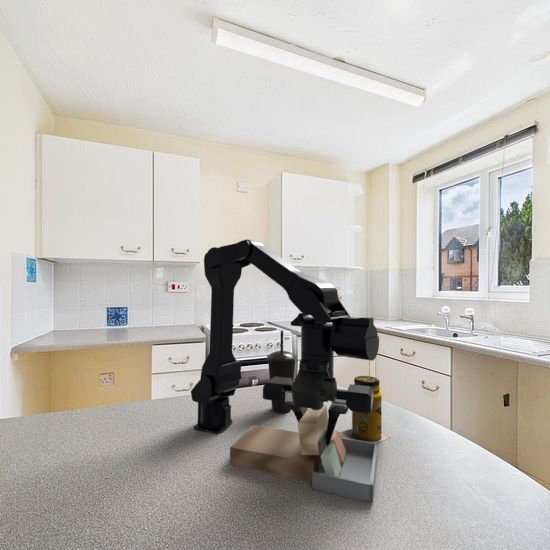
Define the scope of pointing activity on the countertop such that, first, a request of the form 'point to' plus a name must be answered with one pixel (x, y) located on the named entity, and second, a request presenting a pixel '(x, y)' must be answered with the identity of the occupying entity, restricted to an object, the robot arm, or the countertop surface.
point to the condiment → (367, 416)
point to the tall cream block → (313, 431)
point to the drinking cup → (281, 372)
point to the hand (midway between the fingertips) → (317, 442)
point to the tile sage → (331, 460)
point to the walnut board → (274, 453)
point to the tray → (351, 472)
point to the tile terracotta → (338, 445)
